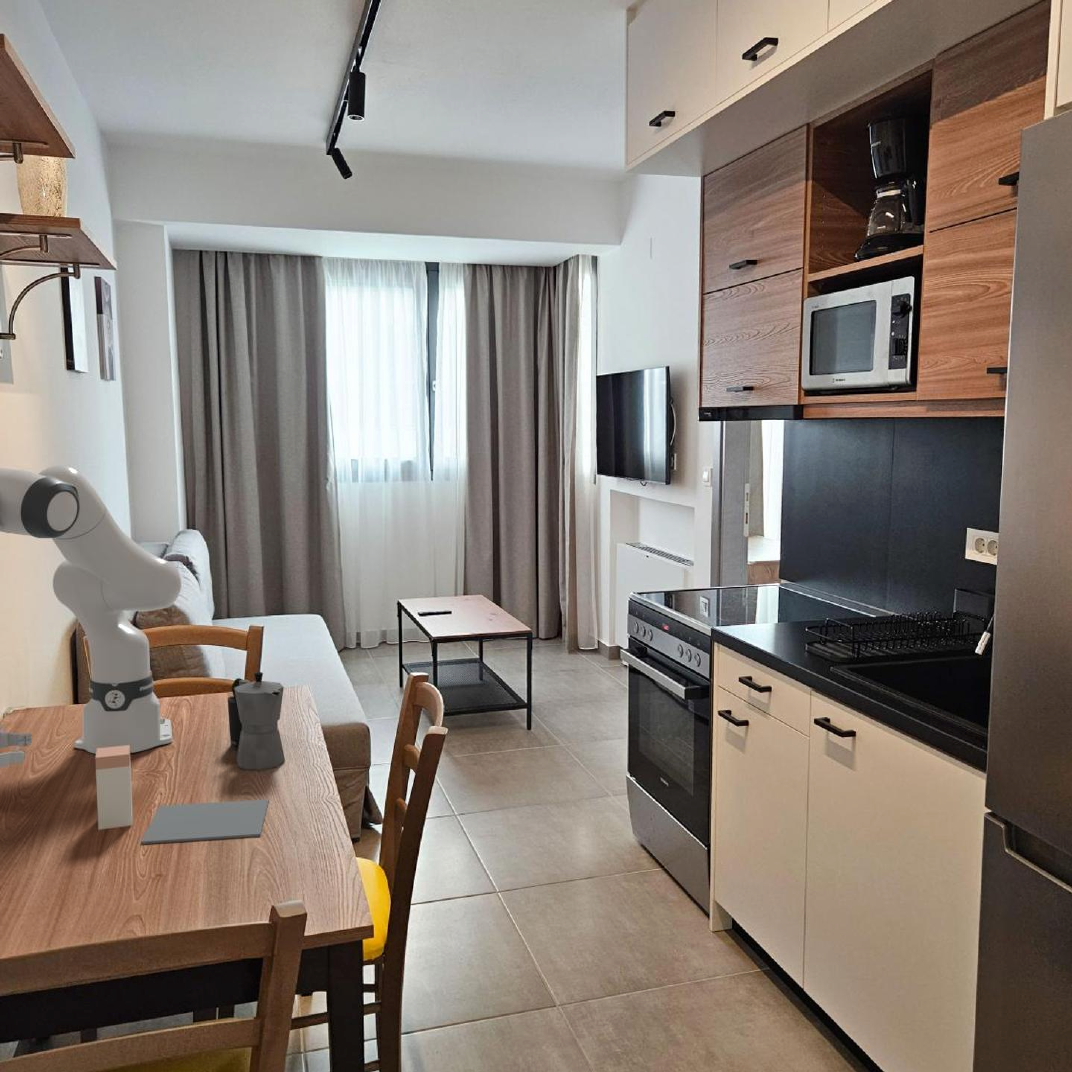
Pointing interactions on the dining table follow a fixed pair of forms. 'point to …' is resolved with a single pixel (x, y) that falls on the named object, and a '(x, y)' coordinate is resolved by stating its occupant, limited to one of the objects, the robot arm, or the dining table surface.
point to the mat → (207, 821)
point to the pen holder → (234, 723)
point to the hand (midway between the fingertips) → (28, 747)
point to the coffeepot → (258, 723)
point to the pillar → (114, 787)
